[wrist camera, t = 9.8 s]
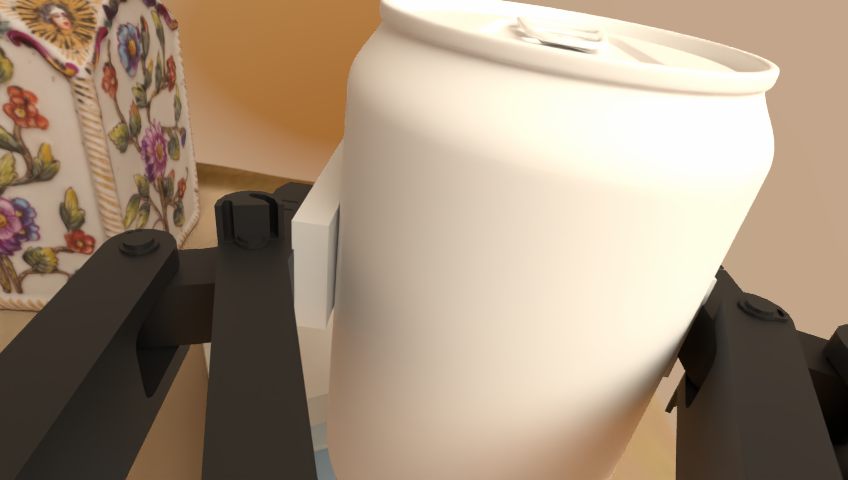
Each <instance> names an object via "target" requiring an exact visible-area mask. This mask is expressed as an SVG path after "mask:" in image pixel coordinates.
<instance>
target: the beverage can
mask: <svg viewBox="0 0 848 480" xmlns="http://www.w3.org/2000/svg"><path fill="white" fill-rule="evenodd" d="M379 13H380V16H381V18H382V19H383V20H382V22H381V24H380V25H379V27H378V28H377V30H376V31H375V32H374V33H373V35H372V36H371V37H370V38H369V40H368V41H367V42H366V43H365V45H364V46H363V47H362V48H361V50H360V51H359V53H358V54H357V56H356V58H355V59H354V61H353V64H352V66H351V69H350V72H349V76H348V83H347V98H346V99H347V100H346V114H345V131H344V147H343V163H342V180H341V196H340V213H339V229H338V246H337V263H336V279H335V297H334V312H333V329H332V345H331V362H330V379H329V395H328V412H327V446H328V453H329V457H330V461H331V465H332V468H333V470H334V473H335V475H336V478H337V480H610V478H611V476H612V474H613V472H614V470H615V469H616V467H617V465H618V463H619V461H620V459H621V457H622V455H623V453H624V451H625V449H626V447H627V445H628V443H629V441H630V439H631V438H632V436H633V434H634V432H635V430H636V428H637V426H638V424H639V422H640V420H641V418H642V416H643V414H644V412H645V410H646V408H647V407H648V405H649V403H650V401H651V399H652V397H653V395H654V393H655V391H656V389H657V387H658V385H659V383H660V381H661V379H662V377H663V376H664V374H665V372H666V370H667V368H668V366H669V364H670V362H671V360H672V358H673V356H674V354H675V352H676V350H677V348H678V346H679V345H680V343H681V341H682V339H683V337H684V335H685V333H686V331H687V329H688V327H689V325H690V323H691V321H692V319H693V317H694V315H695V313H696V312H697V310H698V308H699V306H700V304H701V302H702V300H703V298H704V296H705V294H706V292H707V290H708V288H709V286H710V284H711V282H712V281H713V279H714V277H715V275H716V273H717V271H718V269H719V267H720V265H721V263H722V261H723V259H724V257H725V255H726V253H727V251H728V249H729V248H730V246H731V244H732V242H733V240H734V238H735V236H736V234H737V232H738V230H739V228H740V226H741V224H742V222H743V220H744V219H745V217H746V214H747V213H748V211H749V209H750V207H751V205H752V203H753V201H754V199H755V197H756V195H757V193H758V191H759V189H760V187H761V185H762V183H763V181H764V180H765V178H766V175H767V174H768V172H769V169H770V167H771V163H772V160H773V154H774V138H773V132H772V127H771V122H770V118H769V114H768V110H767V106H766V101H765V91H767V90H769V89H770V88H771V87H773V85H774V84H775V82H776V80H777V78H778V75H779V68H778V66H776V65H775V64H774V63H772V62H770V61H768V60H766V59H764V58H762V57H759V56H757V55H754V54H751V53H748V52H745V51H742V50H739V49H736V48H733V47H730V46H726V45H723V44H719V43H715V42H712V41H708V40H704V39H701V38H697V37H692V36H688V35H684V34H680V33H676V32H672V31H667V30H663V29H659V28H654V27H649V26H645V25H640V24H635V23H630V22H626V21H620V20H616V19H610V18H605V17H600V16H595V15H589V14H584V13H578V12H572V11H567V10H560V9H554V8H548V7H542V6H536V5H529V4H522V3H516V2H508V1H501V0H380V8H379Z"/></svg>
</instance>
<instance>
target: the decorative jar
mask: <svg viewBox="0 0 848 480" xmlns="http://www.w3.org/2000/svg"><path fill="white" fill-rule="evenodd" d="M199 217H200V200H199V188H198V179H197V170H196V161H195V154H194V146H193V138H192V130H191V123H190V113H189V105H188V97H187V88H186V82H185V73H184V65H183V60H182V53H181V42H180V34H179V26H178V22H177V21H176V20H175V18H174V17H173V16H172V13H171V11H169V9H167V8H166V7H165V6H164V5H163V3H162V2H161V1H160V0H0V309H11V310H27V311H40V310H41V309H42V308H43V307H44V306H45V305H46V304H47V303H48V302H49V301H50V300H51V299H52V298H53V297H54V295H55V294H56V293H57V292H58V291H59V290H60V289H61V288H62V287H63V286H64V285H65V284H66V283H67V282H68V281H69V279H70V278H71V277H72V276H73V275H74V274H75V273H76V272H77V271H78V270H79V269H80V268H81V267H82V266H83V264H84V263H85V262H86V261H87V260H88V259H89V258H90V257H91V256H92V255H93V254H94V253H95V252H96V251H97V249H98V248H99V247H100V246H101V245H102V244H103V243H104V242H106V241H107V240H108V239H110V238H111V237H113V236H115V235H118V234H120V233H123V232H125V231H128V230H135V229H140V228H143V229H157V230H162V231H166V232H168V233H170V234H172V235H173V236H174V238H175V239H176V241H177V248H178V250H179V249H180V247H181V245H182V244H183V242H184V241H185V239H186V237H187V236H188V234H189V233H190V231H191V230H192V228H193V227H194V225H195V224H196V223H197V221H198V219H199Z"/></svg>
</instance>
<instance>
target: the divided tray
mask: <svg viewBox="0 0 848 480" xmlns="http://www.w3.org/2000/svg"><path fill="white" fill-rule="evenodd" d="M333 312H334V308H333V310H332V313H331V316H330V319H329V322H328V324H327V327H326V330H325V329H317V328H310V327H303V326H297V332H298V339H299V346H300V353H301V361H302V368H303V375H304V383H305V390H306V397H307V405H308V412H309V419H310V426H311V434H312V441H313V448H314V456H315V463H316V470H317V477H318V480H337V478H336V475H335V473H334V470H333V468H332V465H331V461H330V457H329V453H328V446H327V412H328V395H329V379H330V362H331V345H332V329H333ZM202 344H203V350H204V356H205V362H206V368H207V374H208V378H209V364H210V350H211V343H202Z"/></svg>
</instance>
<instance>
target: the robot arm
mask: <svg viewBox="0 0 848 480" xmlns="http://www.w3.org/2000/svg"><path fill="white" fill-rule="evenodd" d="M343 147H344V138H343V140H342V141H341V143H340V144H339V146H338V147H337V149H336V151H335V152H334V154H333V155H332V157H331V159H330V160H329V162H328V164H327V165H326V167H325V168H324V170H323V171H322V173H321V174H320V176H319V178H318V179H317V181H316V182H315V184H314V185H309V184H301V183H294V182H289V183H287V184H285V185H283V186H281V187H279V188H277V189H276V190H275V192H274V193H273V194H270V193H266V192H262V191H241V192H235V193H231V194H228V195H225V196H223V197H222V198H220V199H219V200H217V202H216V204H215V206H214V207H215V217H216V227H217V237H218V247H213V248H205V249H187V250H178V248H177V241H176V239H175V238H174V236H173V235H172V234H170V233H168V232H166V231H162V230H157V229H143V228H140V229H135V230H128V231H125V232H123V233H120V234H118V235H115V236H113V237H111V238H110V239H108V240H107V241H106V242H104V243H103V244H102V245H101V246H100V247H99V248H98V249H97V251H96V252H95V253H94V254H93V255H92V256H91V257H90V258H89V259H88V260H87V261H86V262H85V263H84V264H83V266H82V267H81V268H80V269H79V270H78V271H77V272H76V273H75V274H74V275H73V276H72V277H71V278H70V279H69V281H68V282H67V283H66V284H65V285H64V286H63V287H62V288H61V289H60V290H59V291H58V292H57V293H56V294H55V295H54V297H53V298H52V299H51V300H50V301H49V302H48V303H47V304H46V305H45V306H44V307H43V308H42V309H41V310H40V312H39V313H38V314H37V315H36V316H35V317H34V318H33V319H32V320H31V321H30V322H29V323H28V324H27V325H26V327H25V328H24V329H23V330H22V331H21V332H20V333H19V334H18V335H17V336H16V337H15V338H14V339H13V340H12V341H11V343H10V344H9V345H8V346H7V347H6V348H5V349H4V350H3V351H2V352H1V353H0V480H125V479H126V477H127V475H128V473H129V471H130V469H131V467H132V465H133V463H134V461H135V459H136V456H137V454H138V452H139V450H140V448H141V446H142V444H143V442H144V440H145V438H146V436H147V434H148V432H149V430H150V428H151V426H152V424H153V422H154V420H155V418H156V415H157V413H158V411H159V409H160V407H161V405H162V403H163V401H164V399H165V397H166V395H167V393H168V391H169V389H170V387H171V385H172V383H173V381H174V379H175V376H176V374H177V372H178V370H179V368H180V366H181V364H182V362H183V360H184V358H185V356H186V354H187V352H188V350H189V348H190V344H201V343H211V350H210V364H209V378H208V393H207V407H206V422H205V436H204V451H203V465H202V480H318V477H317V470H316V463H315V456H314V448H313V441H312V434H311V426H310V419H309V412H308V405H307V397H306V390H305V383H304V375H303V368H302V361H301V353H300V346H299V339H298V332H297V326H303V327H310V328H317V329H325V330H326V327H327V324H328V322H329V319H330V316H331V313H332V310H333V308H334V297H335V279H336V263H337V246H338V229H339V213H340V196H341V180H342V163H343ZM723 269H724V268H723V267H722V265H720V267H719V269H718V271H717V273H716V275H715V277H714V279H713V281H712V282H711V284H710V286H709V288H708V290H707V292H706V294H705V296H704V298H703V300H702V302H701V304H700V306H699V308H698V310H697V312H696V313H695V315H694V317H693V319H692V321H691V323H690V325H689V327H688V329H687V331H686V333H685V335H684V337H683V339H682V341H681V343H680V345H679V346H678V348H677V350H676V352H675V354H674V356H673V358H672V360H671V362H670V364H669V366H668V368H667V370H666V372H665V374H664V376H663V377H668V376H669V374H670V372H671V370H672V368H673V366H674V364H675V362H676V360H677V358H679V360H680V362H681V363H682V365H683V367H684V369H685V373H684V375H683V377H682V378H681V380H680V383H679V385H678V386H677V388H676V390H675V392H674V394H673V396H672V397H671V400H670V402H669V403H668V405H667V408H666V410H665V411H666V412H668V413H671V411H672V409H673V407H676V406H677V439H676V480H848V324H845V325H842V326H839V327H838V328H837V329H836V331H835V332H834V334H833V335H832V337H831V338H830V340H826V339H823V338H820V337H817V336H814V335H810V334H807V333H804V332H801V331H798V330H796V329H795V325H794V323H793V320H792V319H791V318H790V316H789V314H788V313H787V312H785V311H784V310H783V309H782V308H781V307H779V306H778V305H776V304H774V303H772V302H771V301H769V300H767V299H764V298H762V297H759V296H757V295H754V294H750V293H745V292H743V291H742V290H741V289H740V288H739V287H738V285H737V284H736V283H735V281H734V280H733V279H732V278H731V276H730V275H729V274H728V273H727V272H726V271H725V270H723Z"/></svg>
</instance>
